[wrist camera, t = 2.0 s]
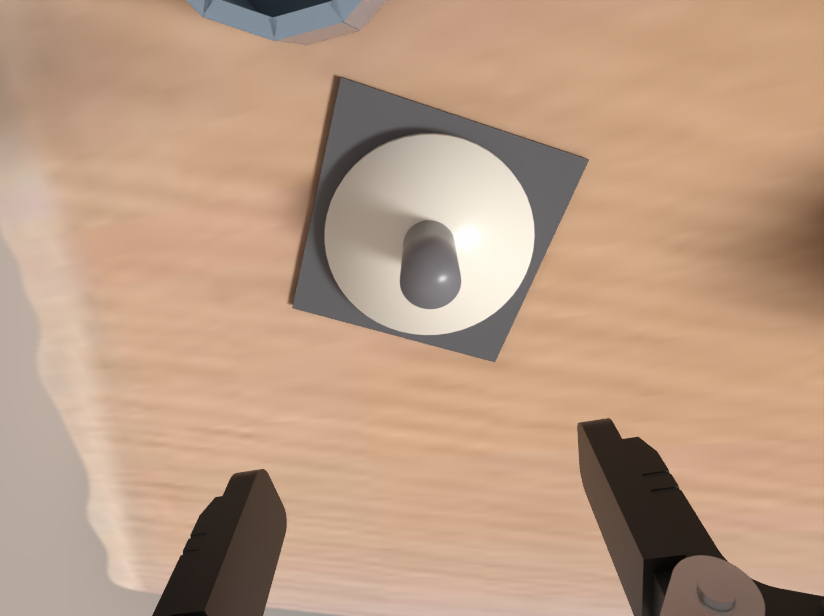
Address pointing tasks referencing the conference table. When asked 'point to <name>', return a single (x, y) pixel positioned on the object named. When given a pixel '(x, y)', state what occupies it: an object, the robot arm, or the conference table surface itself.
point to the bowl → (291, 17)
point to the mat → (396, 116)
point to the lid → (429, 234)
